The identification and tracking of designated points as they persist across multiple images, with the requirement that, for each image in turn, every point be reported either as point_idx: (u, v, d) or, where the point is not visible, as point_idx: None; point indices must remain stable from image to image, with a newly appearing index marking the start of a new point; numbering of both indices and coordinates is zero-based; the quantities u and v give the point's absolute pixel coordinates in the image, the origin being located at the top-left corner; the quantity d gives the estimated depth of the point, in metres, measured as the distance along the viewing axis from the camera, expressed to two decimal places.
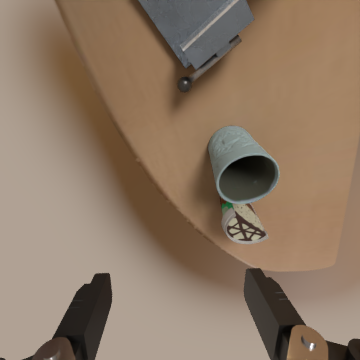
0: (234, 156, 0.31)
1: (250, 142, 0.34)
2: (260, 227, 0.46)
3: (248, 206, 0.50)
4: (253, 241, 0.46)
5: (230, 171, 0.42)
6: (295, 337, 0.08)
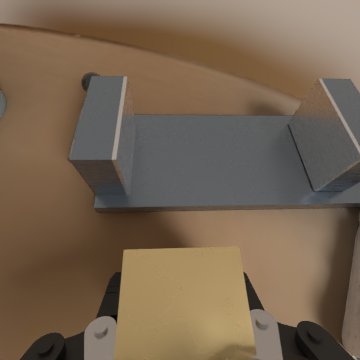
0: None
1: None
2: None
3: None
4: None
5: None
6: None
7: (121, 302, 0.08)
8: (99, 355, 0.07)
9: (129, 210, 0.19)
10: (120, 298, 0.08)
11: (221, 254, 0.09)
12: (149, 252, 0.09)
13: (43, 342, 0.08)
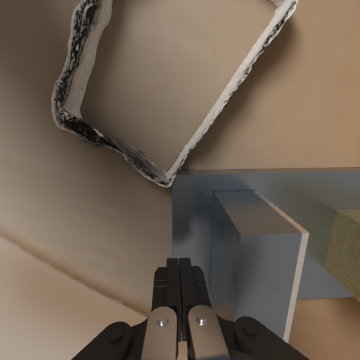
0: None
1: None
2: None
3: None
4: None
5: None
6: (191, 315, 0.09)
7: None
8: (168, 342, 0.08)
9: None
10: None
11: None
12: None
13: (115, 329, 0.08)
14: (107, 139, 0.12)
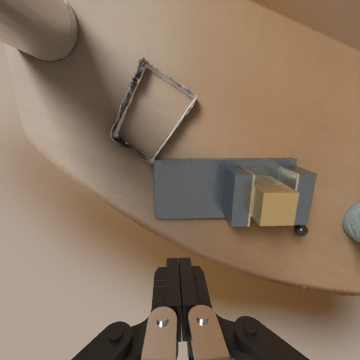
0: None
1: None
2: None
3: None
4: None
5: None
6: (191, 315, 0.09)
7: (295, 212, 0.29)
8: (168, 342, 0.08)
9: (278, 158, 0.37)
10: (295, 213, 0.29)
11: (265, 224, 0.30)
12: (286, 224, 0.30)
13: (115, 329, 0.08)
14: (129, 145, 0.34)
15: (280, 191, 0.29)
